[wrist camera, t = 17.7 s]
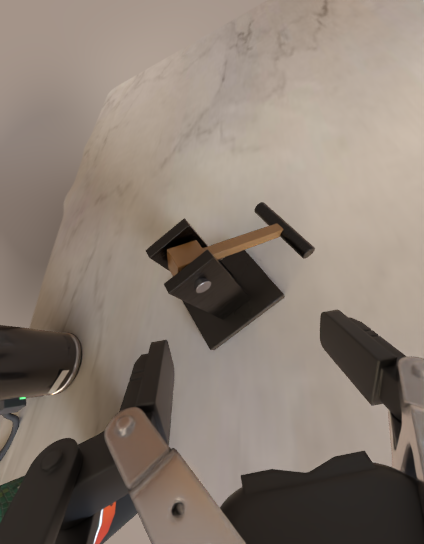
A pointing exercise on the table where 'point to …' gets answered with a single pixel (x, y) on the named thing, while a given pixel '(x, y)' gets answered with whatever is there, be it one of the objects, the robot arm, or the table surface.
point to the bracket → (216, 286)
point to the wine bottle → (109, 518)
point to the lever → (241, 241)
